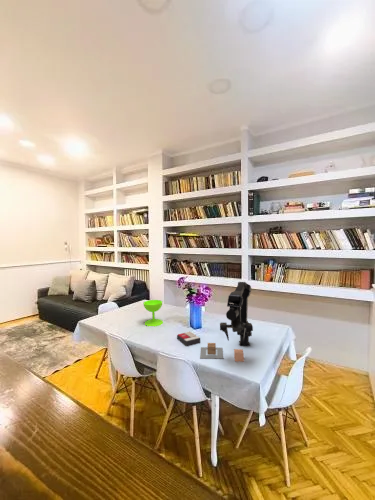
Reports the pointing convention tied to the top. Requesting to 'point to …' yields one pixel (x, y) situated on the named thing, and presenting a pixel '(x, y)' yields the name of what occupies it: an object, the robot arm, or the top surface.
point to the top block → (239, 355)
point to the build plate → (205, 355)
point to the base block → (211, 348)
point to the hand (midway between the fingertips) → (236, 340)
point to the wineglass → (153, 307)
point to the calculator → (188, 338)
